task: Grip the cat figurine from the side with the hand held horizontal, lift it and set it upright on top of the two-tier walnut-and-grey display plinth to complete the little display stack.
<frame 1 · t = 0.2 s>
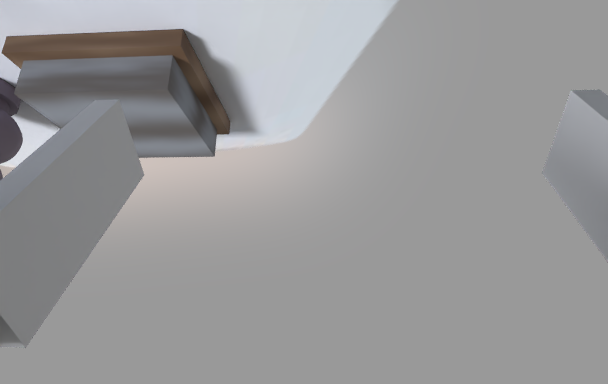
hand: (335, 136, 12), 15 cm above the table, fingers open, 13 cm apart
display plinth: (136, 85, 37), on the table
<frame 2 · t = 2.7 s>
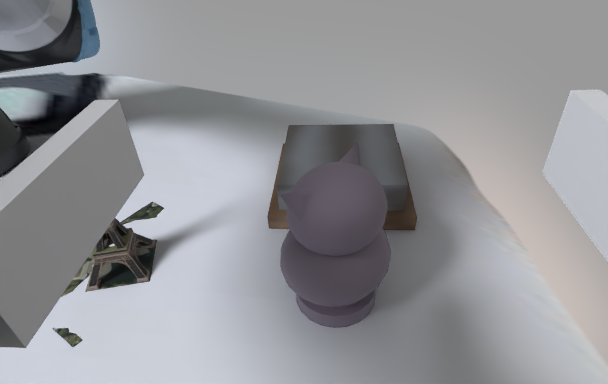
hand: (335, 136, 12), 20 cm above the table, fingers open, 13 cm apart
eiffel tower figurine: (124, 266, 38), on the table
display plinth: (340, 186, 45), on the table
cat figurine: (335, 296, 33), on the table
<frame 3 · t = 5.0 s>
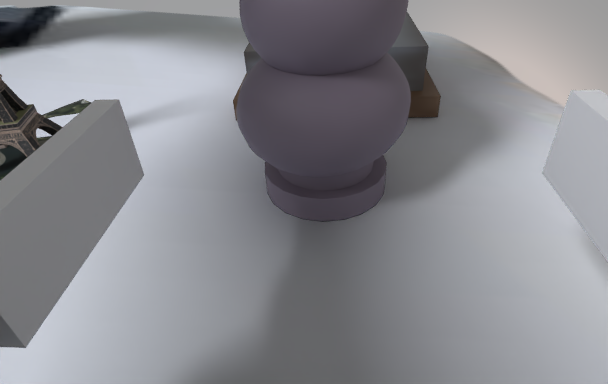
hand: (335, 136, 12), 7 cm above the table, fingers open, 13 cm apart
eiffel tower figurine: (27, 163, 27), on the table
display plinth: (334, 81, 34), on the table
cat figurine: (325, 187, 22), on the table
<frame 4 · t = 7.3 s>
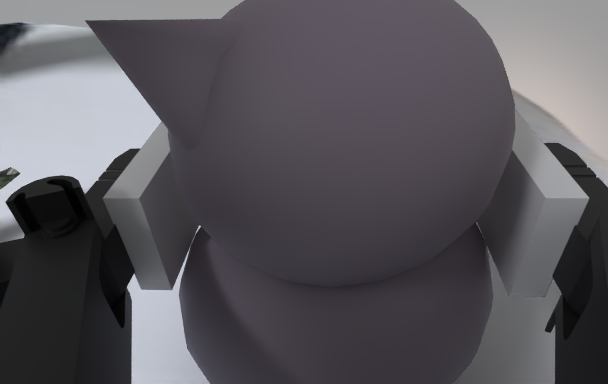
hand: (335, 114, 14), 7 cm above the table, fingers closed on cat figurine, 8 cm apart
cat figurine: (335, 367, 14), on the table, touching gripper
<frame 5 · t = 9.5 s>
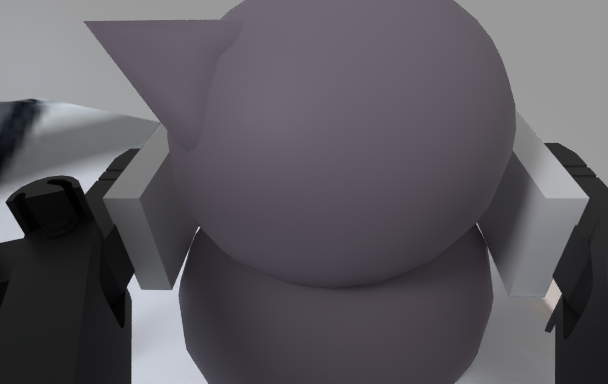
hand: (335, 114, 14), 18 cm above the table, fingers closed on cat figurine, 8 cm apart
cat figurine: (335, 368, 14), point 10 cm above the table, touching gripper
when the fingers open (13 cm above the table, at t = 11.9 s): cat figurine drops 1 cm, resting on display plinth.
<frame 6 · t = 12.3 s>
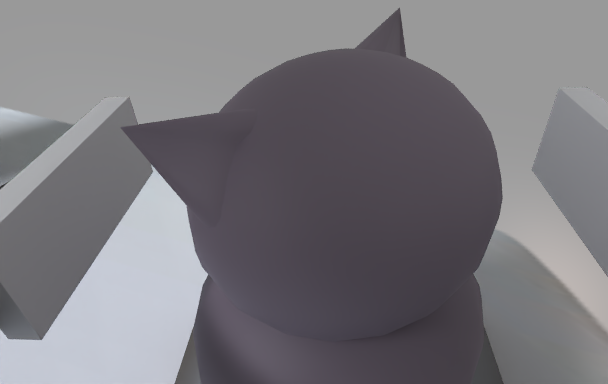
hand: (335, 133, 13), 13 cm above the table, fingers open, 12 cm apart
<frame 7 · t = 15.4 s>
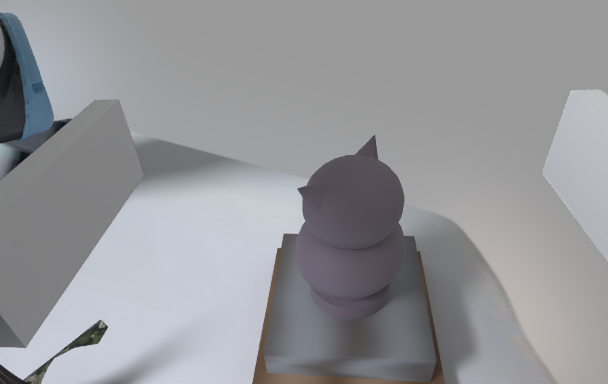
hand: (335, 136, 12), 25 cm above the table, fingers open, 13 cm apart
display plinth: (347, 319, 36), on the table
cat figurine: (348, 289, 33), point 4 cm above the table, touching display plinth
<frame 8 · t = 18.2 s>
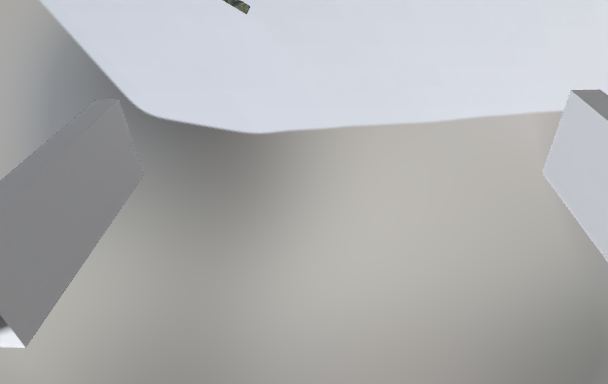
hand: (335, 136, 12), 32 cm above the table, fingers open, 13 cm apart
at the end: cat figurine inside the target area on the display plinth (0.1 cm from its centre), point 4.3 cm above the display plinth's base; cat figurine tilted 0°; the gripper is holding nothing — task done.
